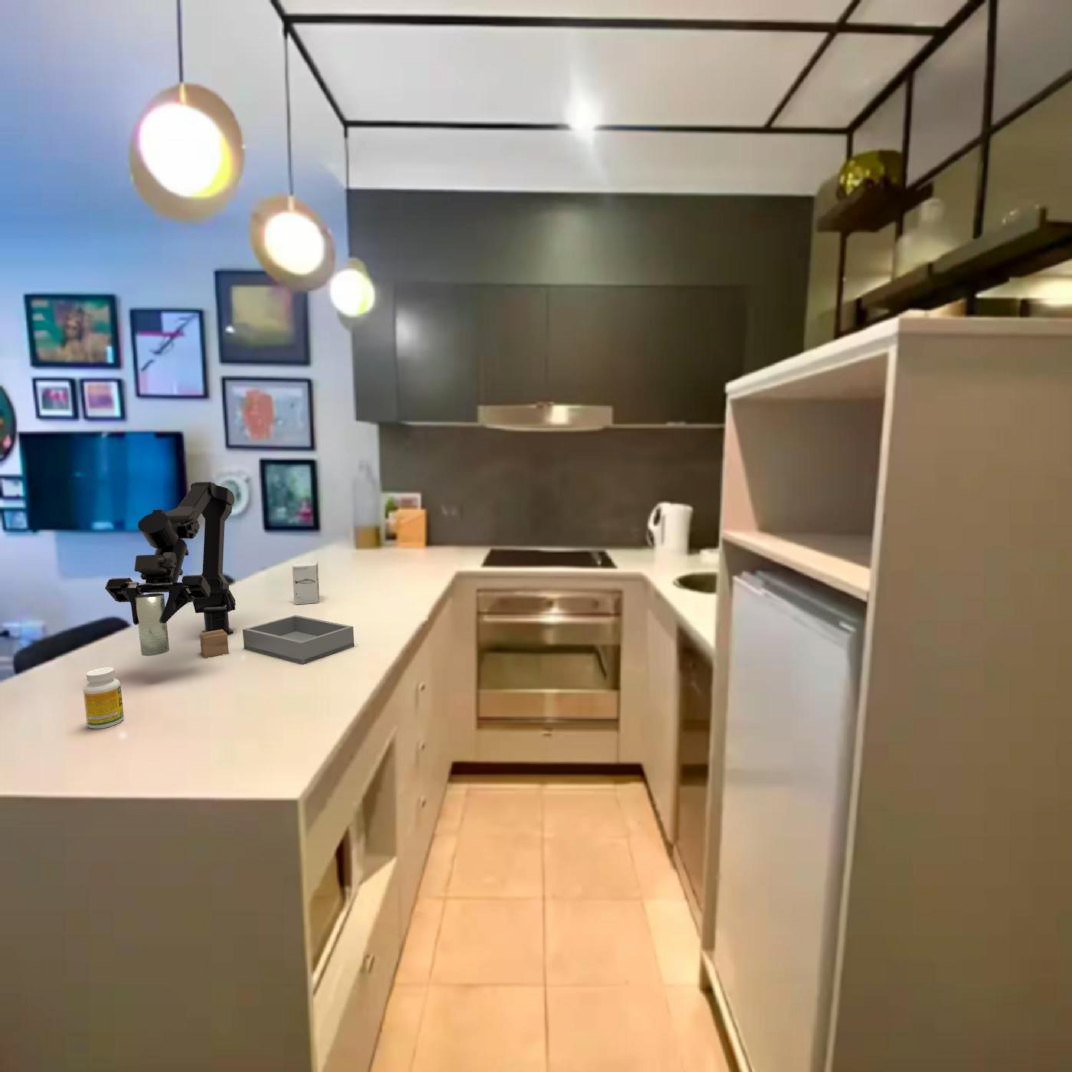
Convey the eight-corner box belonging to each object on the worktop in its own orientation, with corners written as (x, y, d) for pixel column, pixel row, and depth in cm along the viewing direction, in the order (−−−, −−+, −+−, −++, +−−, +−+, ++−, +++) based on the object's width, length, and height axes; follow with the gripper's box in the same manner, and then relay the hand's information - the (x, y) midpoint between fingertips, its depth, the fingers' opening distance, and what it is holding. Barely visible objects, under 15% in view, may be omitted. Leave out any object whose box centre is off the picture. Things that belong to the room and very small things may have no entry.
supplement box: (293, 605, 190) (291, 566, 188) (296, 600, 197) (293, 562, 196) (318, 603, 192) (316, 564, 190) (320, 598, 199) (318, 560, 197)
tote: (244, 649, 147) (242, 629, 146) (296, 633, 160) (295, 615, 159) (302, 664, 136) (301, 643, 135) (354, 646, 148) (353, 626, 148)
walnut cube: (201, 653, 145) (199, 633, 144) (224, 649, 148) (222, 629, 147) (205, 658, 141) (203, 638, 140) (228, 654, 144) (227, 633, 143)
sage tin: (139, 651, 126) (134, 595, 125) (167, 646, 129) (162, 592, 128) (142, 657, 122) (136, 600, 121) (171, 652, 126) (165, 596, 124)
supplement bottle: (84, 723, 107) (78, 671, 105) (120, 713, 110) (114, 663, 109) (91, 732, 103) (85, 678, 102) (127, 722, 107) (122, 670, 106)
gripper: (104, 540, 125) (79, 605, 116) (200, 537, 128) (183, 600, 119) (127, 570, 134) (106, 632, 125) (217, 567, 137) (202, 627, 128)
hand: (149, 623), depth 124 cm, fingers closed on sage tin, 5 cm apart
